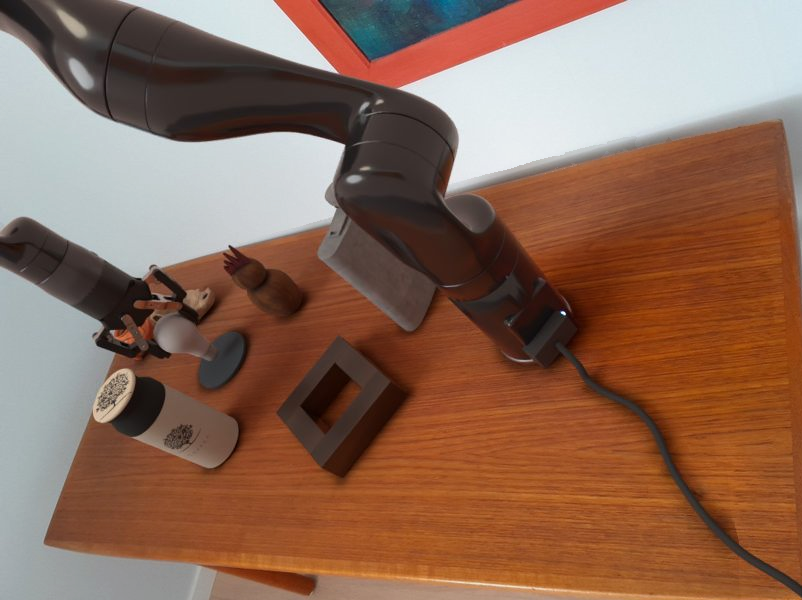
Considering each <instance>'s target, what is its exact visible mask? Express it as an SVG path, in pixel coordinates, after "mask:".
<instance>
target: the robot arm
mask: <svg viewBox="0 0 802 600" xmlns="http://www.w3.org/2000/svg"><path fill="white" fill-rule="evenodd" d="M0 31H1V32H4V33H6V34H9V35H10V36H12V37H14V38H16V39H17V40H18V41H20V42H21V43H23V44H24V45H25V46H26V47H27V48H29V50H30V51H31V52H32V53H33V54H34V55H35V56H36V57H37V59H38V60H39V61H41V63H42V65H44V66H45V67H46V69H47V70H48V71H49V72H50V73H51V75H52V76H53V77H54V78H55V79H56V81H58V83H59V84H60V85H61V86H62V87H63V88H64V89H65V90H66V91H67V92H68V93H69V94H70V95H71V96H72V97H73V98H74V99H75V100H76V101H78V102H79V103H80V104H81V105H82V106H84V108H86V109H88V110H89V111H90V112H92V113H93V114H95V115H97V116H99V117H101V118H103V119H106V120H108V121H111V122H114V123H115V124H116V123H117V124H120V125H121V126H124V127H125V126H126V127H128V128H132V129H134V130H137V131H139V132H140V131H141V132H143V133H146V134H149V135H152V136H155V137H158V138H161V139H164V140H167V141H171V142H176V143H210V142H219V141H226V140H233V139H239V138H243V137H244V138H246V137H252V136H257V135H265V134H274V133H275V134H276V133H291V134H302V135H307V136H312V137H317V138H320V139H325V140H328V141H331V142H336V143H338V144H341V145H344V147H343V150H342V153H341V155H340V159H339V160H338V164H337V166H336V169H335V172H334V175H333V178H332V182H333V183H332V182H331V183H332V190H333V194H334V197H335V199H336V201H337V203H338V205H339V206H340V208H341V209H342V210H343V212H344V213H345V214H346V215H347V216H348V217H349V218H350V219H351V220H352V221H353V222H354V223H355V224H356V225H358V226H359V227H360V228H361V229H362V230H363V231H365V232H366V233H367V234H368V235H369V236H371V237H372V238H373V239H374V240H376V241H377V242H378V243H379V244H380V245H381V246H383V247H384V248H385V249H386V250H387V251H389V252H390V253H391V254H392V255H393V256H394V257H396V258H397V259H398V260H399V261H401V262H402V263H403V264H405V265H407V266H408V267H410V268H412V269H414V270H416V271H418V272H420V273H422V274H423V275H425V276H426V277H427V278H428V279H429V280H430V281H431V282H432V283H433V284H434V285H435V286H436V288H437V289H438V290H439V291H440V292H441V294H443V295H444V296H445V297H446V298H447V299H448V300H449V301H450V302H451V303H452V304H453V305H454V306H455V307H456V308H457V309H458V310H459V311H460V312H461V313H462V314H463V315H464V316H465V317H467V319H468V320H469V321H470V322H472V324H474V325H475V326H476V327H477V328H478V329H479V331H481V332H482V333H483V335H485V336H486V337H487V338H488V339H489V340H490V342H492V343H493V344H494V345H495V346H496V347H497V348H498V349H499V350H500V352H501V353H502V354H503V355H504V356H505V357H506V358H507V359H508V360H510V361H512V362H513V363H514V364H519V365H523V366H532V365H534V366H535V365H539V366H540V367H542V368H544V369H545V370H548V369H549V367H550V366H551V365H552V363H553V362H554V361H555V359H557V357H558V356H559V355H560V353H561V354H562V355H563V356H564V357H565V358H566V359H567V360H568V361H569V362H570V363H571V364H572V365H573V367H574V368H575V369H576V371H577V372H578V374H579V376H580V378H581V379H582V380H583V382H584V383H585V384H586V385H587V386H588V387H590V388H591V389H592V390H593V391H595V392H596V393H598V394H599V395H601V396H603V397H604V398H606V399H608V400H611V401H613V402H615V403H618V404H620V405H622V406H624V407H626V408H628V409H629V410H631V411H632V412H633V413H635V414H636V415H637V416H638V417H639V418H640V419H641V420H642V421H643V422H644V423H645V425H646V426H647V427H648V429H649V431H650V433H651V434H652V436H653V438H654V441H655V443H656V445H657V448H658V449H659V453H660V456H661V457H662V460H663V462H664V464H665V467H666V468H667V471H668V472H669V474H670V476H671V478H672V479H673V481H674V482H675V484H676V485H677V487H678V489H679V490H680V492H682V494H683V496H684V498H685V499H686V500H687V502H688V503H689V504H690V506H691V508H692V509H693V510H694V511H695V513H696V514H697V515H698V517H699V518H700V519H701V520H702V521H703V523H704V524H705V525H706V526H707V527H708V529H709V530H710V531H711V532H712V533H713V534H714V535H715V536H716V537H717V538H718V539H719V540H720V541H721V542H722V543H723V544H724V545H726V546H727V548H729V549H730V550H731V551H732V552H733V553H734V554H736V555H737V557H739V558H741V560H743V561H744V562H746V563H747V564H748V565H751V566H752V567H754V568H755V569H757V570H759V571H760V572H762V573H764V574H766V575H767V576H769V577H771V578H772V579H774V580H776V581H778V583H781V584H782V585H784V586H786V588H788V589H789V590H791V591H792V592H794V594H796V595H797V596H799V597H800V598H801V599H802V584H800V583H799V582H798V581H797V580H795V579H794V578H792V577H791V576H789V575H788V574H786V573H784V572H783V571H781V570H779V569H777V568H776V567H774V566H772V565H771V564H769V563H768V562H766V561H764V560H762V559H760V558H759V557H757V556H756V555H754V554H752V553H751V552H749V551H748V550H747V549H745V548H744V547H743V546H742V545H740V544H739V543H738V542H737V541H735V539H734V538H732V537H731V535H729V533H727V531H725V530H724V529H723V528H722V527H721V526H720V525H719V523H717V522H716V521H715V519H713V517H712V516H711V515H710V514H709V512H708V511H707V510H706V509H705V507H704V506H703V505H702V503H701V502H700V500H698V498H697V497H696V495H695V494H694V492H693V491H692V490H691V488H690V487H689V485H688V484H687V482H686V481H685V480H684V478H683V477H682V475H681V473H680V471H679V469H678V468H677V466H676V464H675V463H674V460H673V458H672V455H671V453H670V451H669V448H668V446H667V444H666V441H665V439H664V437H663V435H662V432H661V431H660V429H659V427H658V425H657V424H656V423H655V421H654V420H653V418H652V417H651V416H650V414H649V413H647V412H646V411H645V410H644V408H642V407H641V406H639V404H637V403H635V402H634V401H633V400H630V399H628V398H626V397H625V396H621V395H619V394H617V393H616V392H615V393H614V392H612V391H610V390H608V389H606V388H605V387H603V386H602V385H600V384H599V383H597V382H596V381H595V380H594V379H593V378H592V377H591V376H590V375H589V374H588V372H587V370H586V369H585V367H584V365H583V364H582V362H581V361H580V360H579V359H578V358H577V357H576V355H574V354H573V353H572V352H571V350H570V349H568V347H566V346H567V344H568V343H569V342H570V341H571V339H573V337H574V335H575V334H576V333H577V332H578V329H579V327H580V326H581V323H580V321H578V319H577V318H576V317H575V316H574V311H573V309H572V306H571V305H570V304H569V302H568V301H567V300H566V298H565V297H564V296H563V295H562V294H561V293H560V292H559V290H558V289H557V288H556V286H555V285H554V284H553V283H552V282H551V280H550V279H549V277H547V275H546V274H545V273H544V271H543V270H542V269H541V268H540V266H539V265H538V264H537V263H536V261H535V259H533V257H532V255H530V253H529V252H528V251H527V250H526V248H525V247H524V245H522V243H521V242H520V241H519V239H518V238H517V237H516V235H515V234H514V232H513V231H512V230H511V229H510V228H509V226H508V225H507V223H506V222H505V220H504V219H503V218H502V217H501V216H500V214H499V213H498V212H497V210H496V209H495V208H494V207H493V205H492V204H491V203H490V202H489V201H488V200H487V199H486V198H484V197H483V196H480V195H478V194H474V193H467V192H466V193H457V194H453V195H451V196H448V197H446V198H445V196H446V193H447V190H448V186H449V184H450V180H451V176H452V173H453V169H454V165H455V161H456V157H457V155H458V154H457V153H458V149H459V143H460V134H459V131H458V128H457V126H456V124H455V122H454V121H453V119H452V118H451V117H450V116H449V114H447V112H445V111H444V110H443V109H442V108H441V107H439V106H438V105H436V104H435V103H433V102H431V101H429V100H427V99H425V98H423V97H422V96H419V95H417V94H414V93H412V92H408V91H405V90H403V89H400V88H396V87H393V86H390V85H387V84H386V85H385V84H382V83H378V82H373V81H370V80H366V79H361V78H357V77H354V76H349V75H345V74H341V73H338V72H334V71H331V70H326V69H321V68H317V67H315V66H310V65H306V64H304V63H303V64H302V63H300V62H298V61H297V62H296V61H293V60H291V59H286V58H284V57H280V56H277V55H274V54H271V53H268V52H265V51H262V50H260V49H257V48H253V47H250V46H247V45H244V44H241V43H238V42H235V41H232V40H229V39H226V38H224V37H221V36H218V35H215V34H213V33H210V32H208V31H205V30H203V29H200V28H198V27H195V26H193V25H190V24H189V23H186V22H183V21H181V20H177V19H175V18H172V17H169V16H167V15H164V14H161V13H158V12H155V11H153V10H150V9H147V8H144V7H142V6H138V5H135V4H132V3H129V2H125V1H123V0H0ZM0 268H2V269H5V270H7V271H8V272H10V273H12V274H14V275H16V276H18V277H19V278H21V279H23V280H25V281H28V282H29V283H31V284H33V285H34V286H36V287H38V288H39V289H41V290H42V291H43V292H45V293H46V294H48V295H49V296H51V297H53V298H55V299H57V300H59V301H61V302H62V303H64V304H66V305H68V306H70V307H71V308H74V309H76V310H77V311H79V312H81V313H83V314H85V315H87V316H89V317H91V318H92V319H94V320H96V321H98V322H100V324H101V326H100V328H99V329H98V331H95V332H94V333H92V336H91V338H92V339H93V342H94V343H95V346H97V347H98V348H99V349H103V350H107V351H109V352H112V353H115V354H117V355H119V354H120V355H123V356H125V358H129V359H133V358H135V357H136V356H137V354H138V353H139V354H140V353H143V352H146V353H148V354H149V355H151V356H153V357H155V358H157V359H159V360H164V359H165V358H166V359H167V360H168V359H170V358H171V356H172V353H170V352H166V351H164V350H163V349H161V348H160V347H159V346H158V345H157V343H156V341H153V340H152V339H151V340H149V339H147V340H146V339H144V337H143V336H142V334H141V332H140V331H139V329H138V327H139V326H140V327H142V325H143V324H144V323H145V321H146V319H148V318H149V317H150V315H151V314H152V313H153V312H154V311H155V310H154V309H157V310H168V309H172V310H177V312H178V313H180V314H181V315H183V316H185V317H186V318H188V319H190V320H191V321H193V322H195V325H196V324H197V325H198V324H199V322H200V321H201V319H199V318H198V317H199V314H198V313H197V312H196V311H195V309H193V308H191V307H190V306H188V305H187V304H185V303H183V300H184V298H185V297H186V296H187V293H186V291H187V290H185V289H184V287H183V286H181V285H180V284H179V283H178V282H177V281H176V280H175V279H173V278H172V277H171V276H170V275H169V274H167V272H165V271H164V270H163V269H162V268H161V267H159V266H158V265H157V264H150V266H149V267H148V270H149V271H148V272H147V273H146V274H144V275H143V277H135V276H133V275H130V274H129V273H127V272H125V271H124V270H123V269H120V268H119V267H117V266H115V265H113V264H112V263H111V262H109V261H107V260H106V259H104V258H102V257H101V256H99V254H97V253H96V252H94V251H92V250H89V249H88V248H86V247H84V246H82V245H80V244H77V243H76V242H73V241H71V240H69V239H68V238H66V237H64V236H63V235H60V234H59V233H57V232H56V231H55V230H53V229H52V228H50V227H48V226H47V225H44V224H43V223H41V222H40V221H37V220H35V219H33V218H31V217H29V216H18V217H16V218H14V219H12V220H11V221H10V222H8V223H7V224H6V225H5V226H3V228H2V229H1V230H0ZM150 284H154V285H161V284H163V285H164V287H166V288H167V289H168V290H170V291H171V292H172V294H171V295H165V294H161V293H159V292H152V291H151V287H150V286H149V285H150ZM124 329H128V330H129V332H130V333H131V335H132V337H133V338H134V340H135V341H134V342H133V343H131V344H129V343H126V342H123V341H121V340H118V339H115V337H114V334H113V333H112V332H111V331H115V330H124ZM120 355H119V356H120ZM123 356H122V357H123Z"/></svg>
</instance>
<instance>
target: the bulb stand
mask: <svg viewBox="0 0 802 600" xmlns="http://www.w3.org/2000/svg"><path fill="white" fill-rule="evenodd" d="M350 380H353V382H355V384H357V385H358V387H360V388H361V390H360V392H359V393H358V394H357V395H356V396H355V397H354V399H353V400H352V401H351V403H350V404H349V405H348V406H347V407H346V409H345V410H344V411H343V412H342V414H341V415H340V416H339V417H338V419H336V420H335V422H334V424H333V425H332V426H331V427H329V426H328V424H326V423H325V421H324V420H323V419H322V418H321V416H322V415H323V414H324V413H325V411H326V410H327V409H328V407H329V406H330V405H331V404H332V403H333V401H334V400H335V399H336V397H337V396H338V395H339V394H340V393H341V391H342V390H343V389H344V388H345V386H347V384H348V383H349V382H350ZM408 396H410V395H409V393H408V392H407V391H406V390H405V389H404V388H402V386H400V385H399V384H398V383H397V382H396V381H394V379H393V378H391V377H390V376H389V375H388V374H387V373H385V372H384V371H383V370H382V369H381V368H380V367H379V366H378V365H377V364H375V363H374V362H373V361H372V360H371V359H370V358H369V357H367V356H366V355H365V354H364V353H363V352H362V351H360V349H358V348H357V347H356V346H354V345H353V344H351V343H350V341H348V340H346V339H344V337H342V336H341V335H340V334H338V335H337V336H336V337H335V338H334V340H333V341H332V342H331V343H330V345H329V346H328V347H327V348H326V350H325V351H324V352H323V353H322V355H321V356H320V357H319V358H318V359H317V360H316V362H315V363H314V364H313V365H312V367H311V368H310V369H309V371H308V372H307V373H306V374H305V375H304V377H302V379H301V380H300V382H299V383H298V384H297V385H296V387H294V389H293V390H292V392H291V393H290V394H289V395H288V397H287V398H286V399H285V400H284V401H283V402H282V403H281V405H280V406H279V407H278V409H277V410H276V411H275V414H276V415H277V416H278V417H279V419H280V420H281V421H282V422H283V423H284V425H285V426H286V427H287V428H288V429H289V431H290V432H291V433H292V434H293V436H294V437H295V439H297V441H298V442H299V443H300V444H301V446H302V447H303V448H304V449H305V450H306V451H307V453H308V454H309V455H310V456H311V458H312V459H313V460H314V461H315V463H316V464H317V465H318V466H319V468H321V469H323V470H325V471H327V472H329V473H330V474H333V475H334V476H337V477H339V478H341V479H343V478H344V476H345V475H346V474H347V473H348V472H349V470H350V469H351V468H352V466H353V465H354V464H355V462H357V460H358V459H359V458H360V456H361V455H362V454H363V453H364V451H365V450H366V448H368V446H369V445H370V444H371V443H372V442H373V440H374V439H375V437H376V436H377V435H378V434H379V433H380V431H381V430H382V429H383V427H385V425H386V424H387V422H389V420H390V419H391V417H392V416H393V415H394V413H395V412H396V411H397V410H398V409H399V407H400V406H402V403H404V401H405V400H406V399H407V397H408Z"/></svg>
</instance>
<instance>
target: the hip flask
mask: <svg viewBox="0 0 802 600" xmlns="http://www.w3.org/2000/svg"><path fill="white" fill-rule="evenodd" d="M332 183H333V181H332V182H331V183H330V184H329V185H328V187H327V188H326V190H325V192H324V200H325V201H326V202H327V203H328V204H329V205H330V206H332V207H334V208H335V212H334V214H333V217H332V219H331V221H330V224H329V227H328V230H327V232H326V234H325V236H324V238H323V240H321V241H322V242H321V244H320V245H319V247H318V249H317V257H318V259H319V260H320V261H322V262H323V263H324V264H325V265H326V266H328V267H329V268H330V269H331V270H332V271H334V272H335V273H336V274H337V275H339V276H340V277H341V278H342V279H343V280H344V281H346V282H347V283H348V284H349V285H350V286H351V287H353V288H354V289H355V290H356V291H357V292H359V293H360V294H361V295H362V296H364V297H365V298H366V299H367V300H369V302H371V303H372V304H373V305H375V307H377V308H378V309H379V310H380V311H381V312H383V313H384V314H385V315H386V316H387V317H389V318H390V319H391V320H392V321H394V322H395V323H396V324H397V325H398V326H399V327H401V328H402V329H403V330H404V331H406V332H413V331H416V329H418V328H419V327H420V326H421V324H422V322H423V320H424V318H425V316H426V314H427V311H428V309H429V307H430V305H431V303H432V299H433V297H434V294H435V291H436V288H437V287H436V286H435V285H434V284H433V283H432V282H431V281H430V280H429V279H428V278H427V277H426V276H425V275H423V274H422V273H420V272H418V271H416V270H414V269H412V268H410V267H408V266H407V265H405V264H403V263H402V262H401V261H399V260H398V259H397V258H396V257H394V256H393V255H392V254H391V253H390V252H389V251H387V250H386V249H385V248H384V247H383V246H381V245H380V244H379V243H378V242H377V241H376V240H374V239H373V238H372V237H371V236H369V235H368V234H367V233H366V232H365V231H363V230H362V229H361V228H360V227H359V226H358V225H356V224H355V223H354V222H353V221H352V220H351V219H350V218H349V217H348V216H347V215H346V214H345V213H344V212H343V210H342V209H341V208H340V206H339V205H338V203H337V201H336V199H335V197H334V194H333V190H332Z"/></svg>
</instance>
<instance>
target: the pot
mask: <svg viewBox="0 0 802 600" xmlns="http://www.w3.org/2000/svg"><path fill="white" fill-rule="evenodd" d="M138 329H139V331H140V332H141V334H142V336H143V337H144V339H146V340H147V339H149V340H151V341H152V340H155V339H154V328H153V324H152V322H151V320H150V319H149V318H147V319H146V321H145V323H144V324H143V325H142V327H140V326H139V327H138ZM113 337H114V338H115V339H118V340H121V341H123V342H126V343H129V344H131V343H133V342H134V341H135V340H134V338H133V337H132V335H131V333H130V332H129V330H128V329H124V330H114V333H113ZM118 355H119V357H123V358H126V356H123V355H120V354H118ZM132 359H133V360H135V361H142V360H143V357H142V356H140V353H138V354H137V356H136V357H135V358H132Z"/></svg>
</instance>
